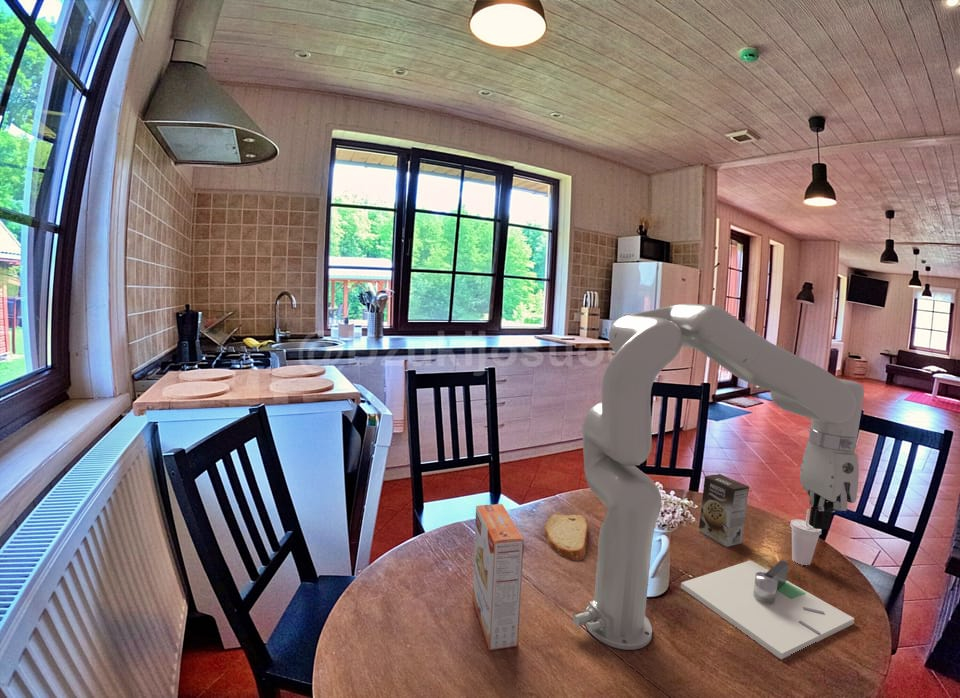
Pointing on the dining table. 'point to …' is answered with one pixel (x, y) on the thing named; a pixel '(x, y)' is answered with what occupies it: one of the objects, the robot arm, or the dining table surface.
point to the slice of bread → (567, 535)
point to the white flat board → (767, 609)
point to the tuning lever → (770, 582)
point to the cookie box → (723, 509)
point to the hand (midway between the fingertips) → (819, 527)
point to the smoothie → (803, 540)
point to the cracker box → (497, 576)
